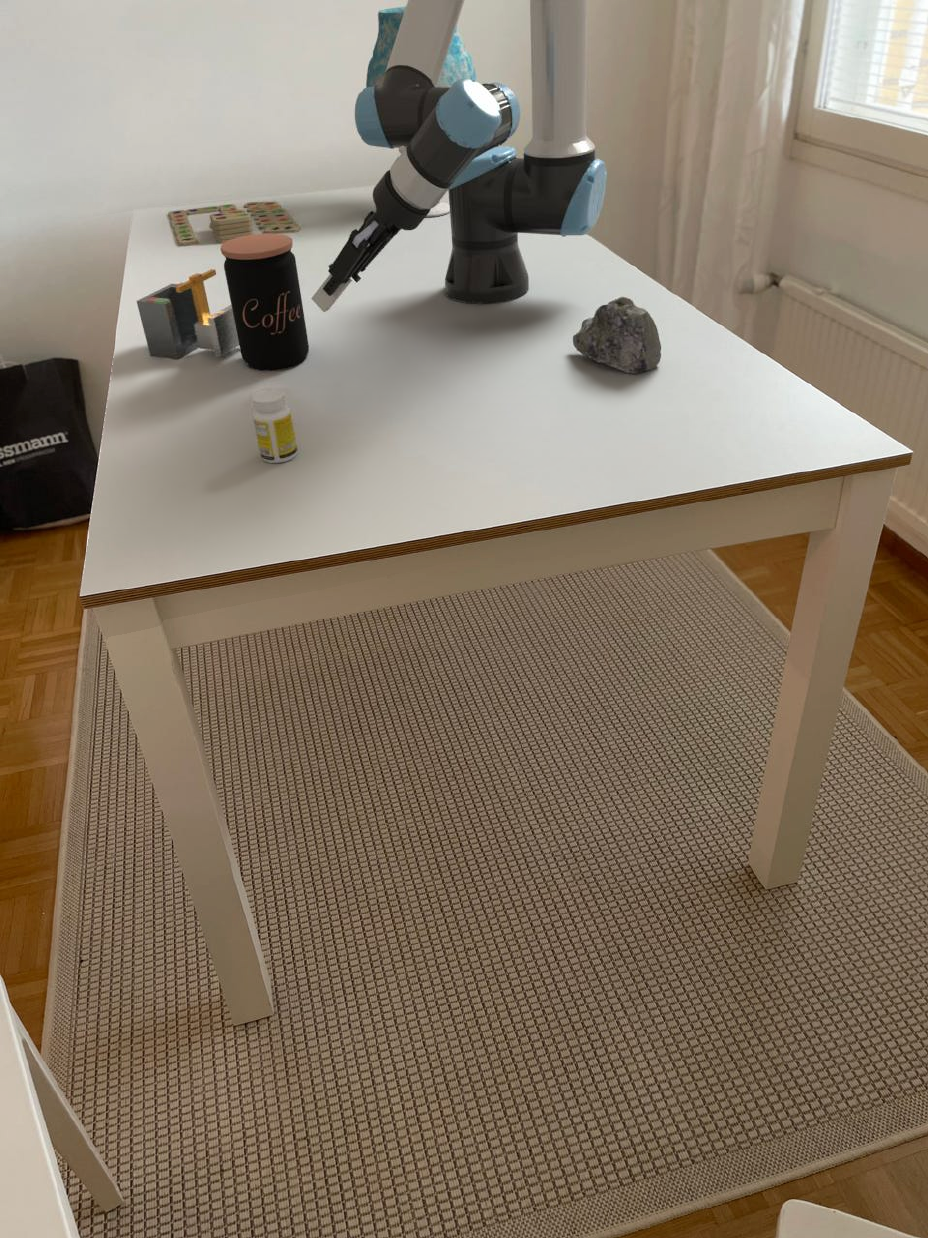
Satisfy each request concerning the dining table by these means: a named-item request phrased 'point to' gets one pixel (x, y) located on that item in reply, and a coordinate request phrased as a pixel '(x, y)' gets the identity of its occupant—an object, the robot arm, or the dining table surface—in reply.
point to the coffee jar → (266, 301)
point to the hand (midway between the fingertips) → (320, 303)
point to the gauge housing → (169, 322)
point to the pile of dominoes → (234, 221)
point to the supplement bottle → (274, 426)
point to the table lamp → (453, 70)
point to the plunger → (211, 318)
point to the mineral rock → (620, 337)
